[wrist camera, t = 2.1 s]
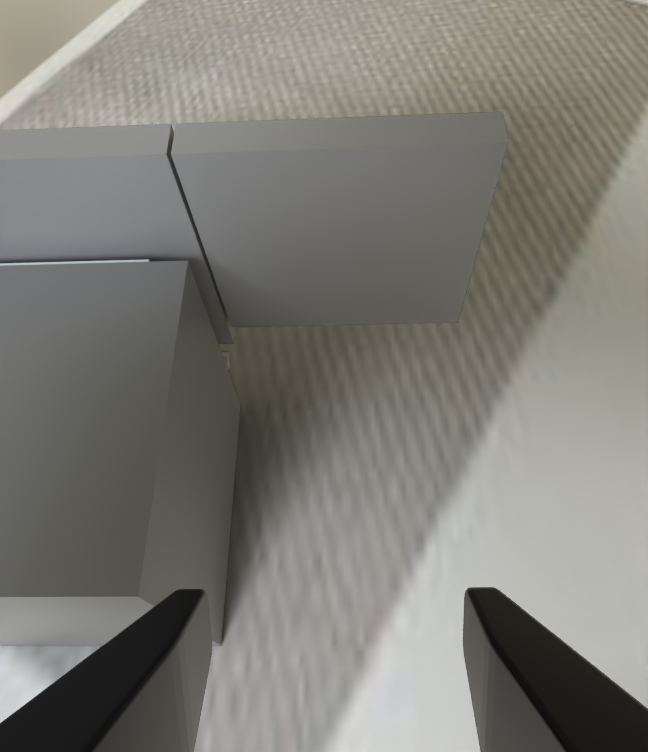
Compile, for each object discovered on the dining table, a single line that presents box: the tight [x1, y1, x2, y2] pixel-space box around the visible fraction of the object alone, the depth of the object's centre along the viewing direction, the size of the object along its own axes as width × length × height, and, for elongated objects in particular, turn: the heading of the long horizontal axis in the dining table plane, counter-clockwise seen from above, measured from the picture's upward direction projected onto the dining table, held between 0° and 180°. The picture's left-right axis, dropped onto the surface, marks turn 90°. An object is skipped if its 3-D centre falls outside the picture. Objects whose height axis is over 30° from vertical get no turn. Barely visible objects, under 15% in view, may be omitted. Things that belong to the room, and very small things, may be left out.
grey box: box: [0, 259, 241, 646], centre depth 17 cm, size 9×8×9 cm
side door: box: [0, 112, 508, 344], centre depth 17 cm, size 1×16×8 cm, turn 89°
